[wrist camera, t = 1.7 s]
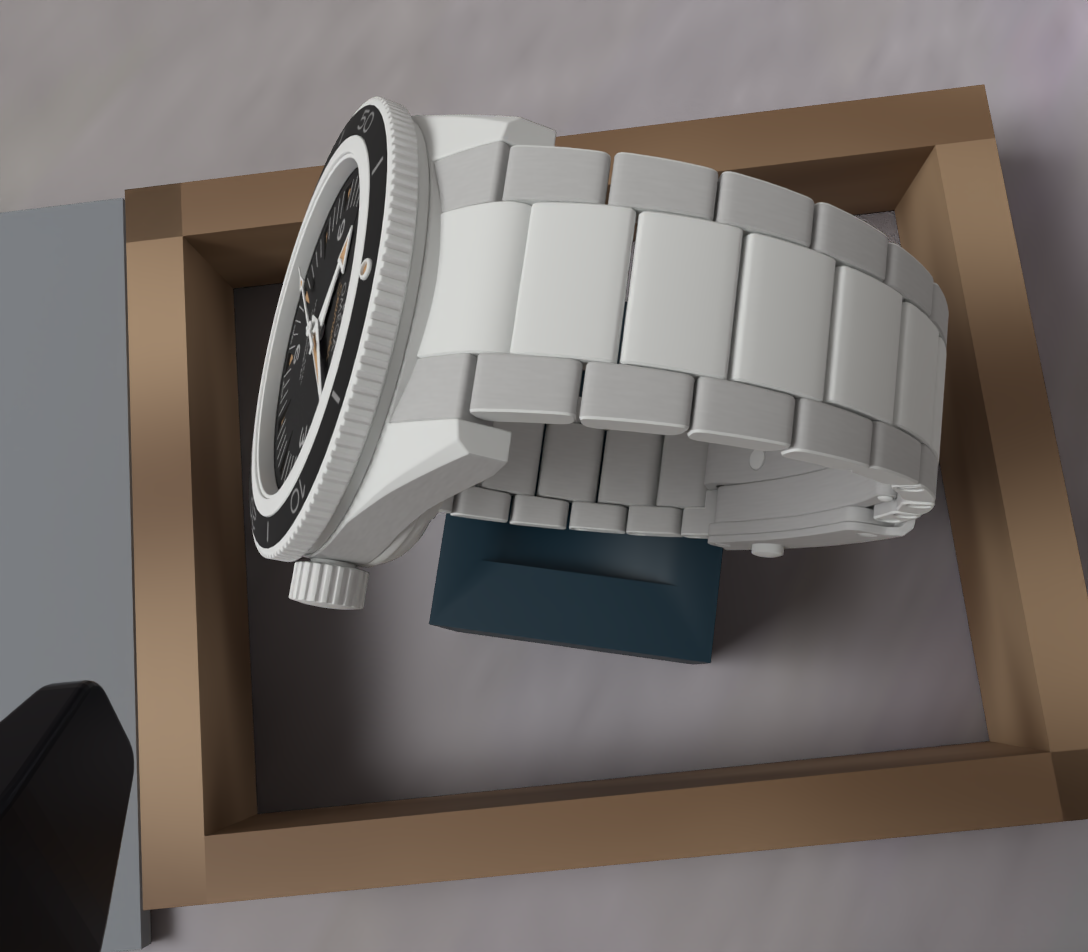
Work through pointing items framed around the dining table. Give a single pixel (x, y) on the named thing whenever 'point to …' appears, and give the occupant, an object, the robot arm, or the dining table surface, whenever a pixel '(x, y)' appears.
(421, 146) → the watch
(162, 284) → the wooden rectangular frame
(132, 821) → the felt mat
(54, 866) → the robot arm
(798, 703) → the dining table surface
